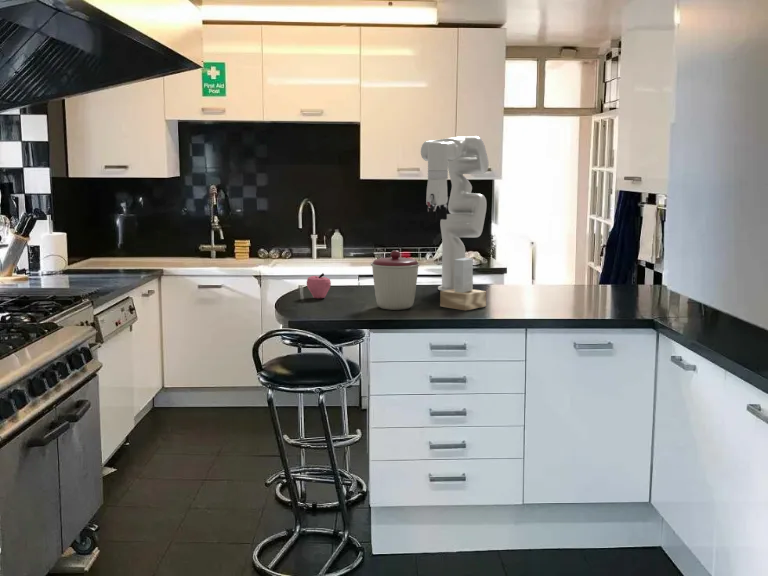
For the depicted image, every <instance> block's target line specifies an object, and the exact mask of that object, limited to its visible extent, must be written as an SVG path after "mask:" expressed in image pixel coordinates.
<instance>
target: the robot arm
mask: <svg viewBox="0 0 768 576" xmlns="http://www.w3.org/2000/svg"><path fill="white" fill-rule="evenodd" d="M420 155H421V158H422V160H423V161H426V162H427V184H426V185H427V186H426V199H425V200H426V202H425V203H426V205H427V206H426V207H427V213H428V214H427V217H428V218H427V221H428V222H429V223H437V216H438V219H439V220H440V223H439V224H440V232H441V239H442V240H441V246H442V247H441V248H442V249H441V250H442V251H441V253H442V256H441V285H439V286H437V290H439V291H445V290H450V289H455V281H454V280H455V279H454V260H455V259H461V258H466V247H465V245H464V242H463V241H462V240H461V238H479V237H480V236H481V235H482V233H483V229H484V226H485V225H484V224H485V218H486V213H487V203H488V202H487V198H486V197H485V195H484V194H481V193H476V192H475V193H474V192H472V190H473V186H472V184H471V182H470V181H469V180H468V179H467V177H465V175H484V174H486V173H487V172H488V170H489V165H490V163H489V158H488V153H487V150H486V146H485V143H484V141H483V139H482V138H481V137H479V136H477V135H474V136H473V135H472V136H471V135H469V136H468V135H466V136H465V135H464V136H463V135H462V136H458V135H457V136H453V137H446V138H441V139H434V140H433V139H432V140H426V141H423V143H422V144H421V147H420ZM448 177H449V178H450V183H451V188H450V189H451V190H450V194H449V195H450V196H448V180H449V178H448ZM437 207H439V208H438V211H436V210H437ZM448 212H449V213H448ZM437 213H438V215H437Z"/></svg>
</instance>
